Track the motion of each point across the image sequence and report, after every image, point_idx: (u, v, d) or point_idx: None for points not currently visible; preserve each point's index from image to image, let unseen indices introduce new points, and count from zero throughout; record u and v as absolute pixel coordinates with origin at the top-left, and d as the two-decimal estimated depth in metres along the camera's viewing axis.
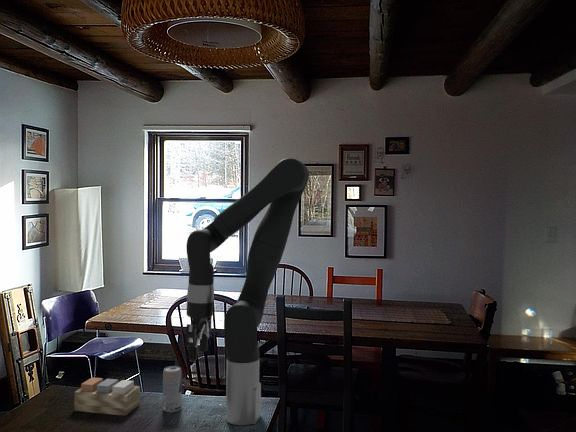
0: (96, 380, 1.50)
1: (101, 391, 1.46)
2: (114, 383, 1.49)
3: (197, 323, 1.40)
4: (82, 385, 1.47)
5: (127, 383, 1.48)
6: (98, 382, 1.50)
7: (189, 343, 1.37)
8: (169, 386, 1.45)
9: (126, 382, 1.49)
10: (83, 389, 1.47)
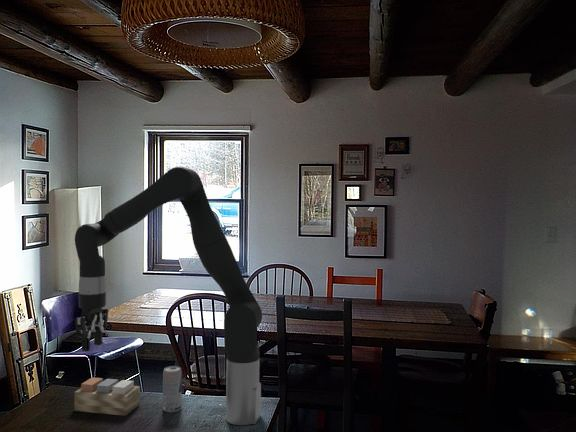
0: (96, 380, 1.50)
1: (101, 391, 1.46)
2: (114, 383, 1.49)
3: (87, 314, 1.45)
4: (82, 385, 1.47)
5: (127, 383, 1.48)
6: (98, 382, 1.50)
7: (80, 335, 1.43)
8: (169, 386, 1.45)
9: (126, 382, 1.49)
10: (83, 389, 1.47)
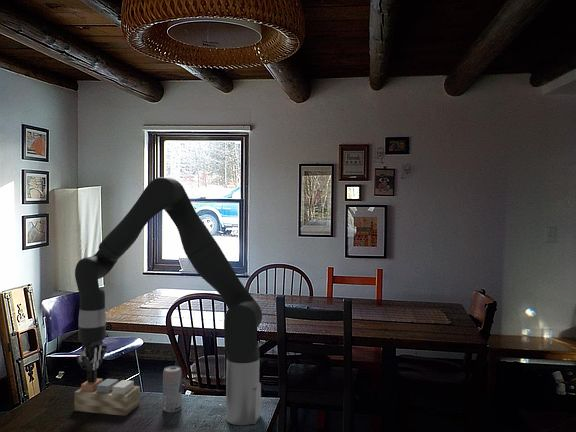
0: (96, 381, 1.50)
1: (101, 391, 1.46)
2: (114, 383, 1.49)
3: (86, 350, 1.45)
4: (82, 385, 1.47)
5: (127, 383, 1.48)
6: (98, 382, 1.50)
7: (85, 368, 1.46)
8: (169, 386, 1.45)
9: (126, 382, 1.49)
10: (83, 389, 1.47)
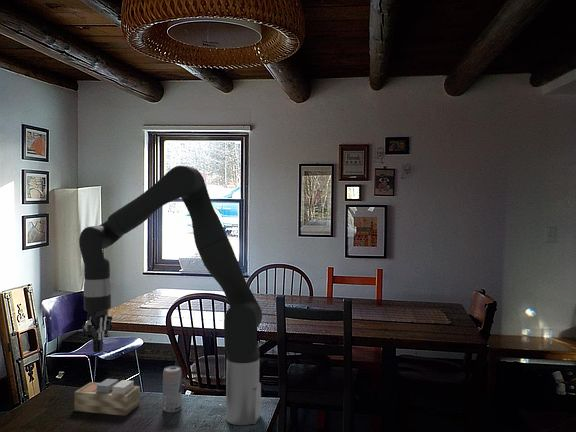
0: (96, 387, 1.50)
1: (101, 391, 1.46)
2: (114, 383, 1.49)
3: (92, 319, 1.44)
4: None
5: (127, 383, 1.48)
6: None
7: (91, 337, 1.46)
8: (169, 386, 1.45)
9: (126, 382, 1.49)
10: None
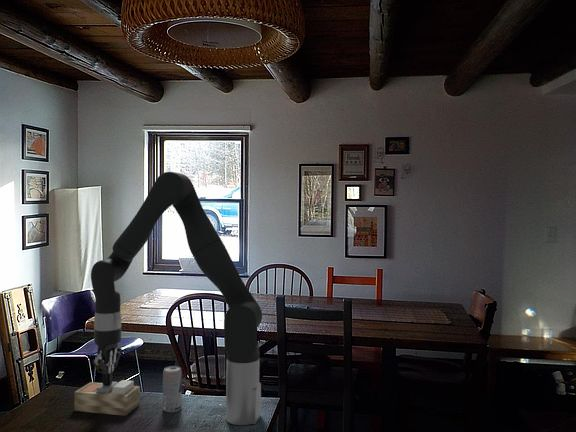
0: (96, 387, 1.50)
1: None
2: None
3: (102, 353, 1.44)
4: None
5: (127, 383, 1.48)
6: None
7: (101, 371, 1.45)
8: (169, 386, 1.45)
9: (126, 382, 1.49)
10: None
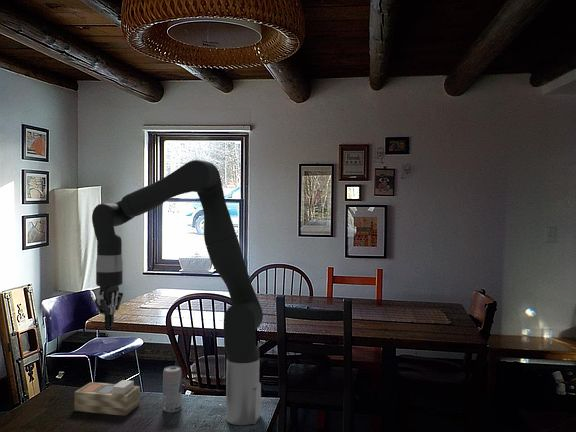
0: (96, 387, 1.50)
1: None
2: None
3: (104, 294, 1.48)
4: None
5: (127, 383, 1.48)
6: None
7: (103, 312, 1.49)
8: (169, 386, 1.45)
9: (126, 382, 1.49)
10: None
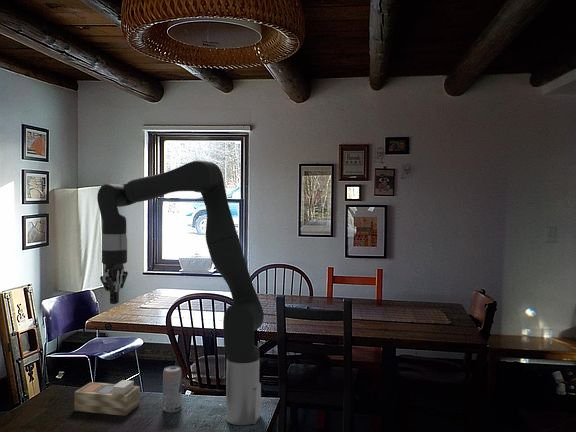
0: (96, 387, 1.50)
1: None
2: None
3: (110, 271, 1.53)
4: None
5: (127, 383, 1.48)
6: None
7: (108, 289, 1.54)
8: (169, 386, 1.45)
9: (126, 382, 1.49)
10: None
